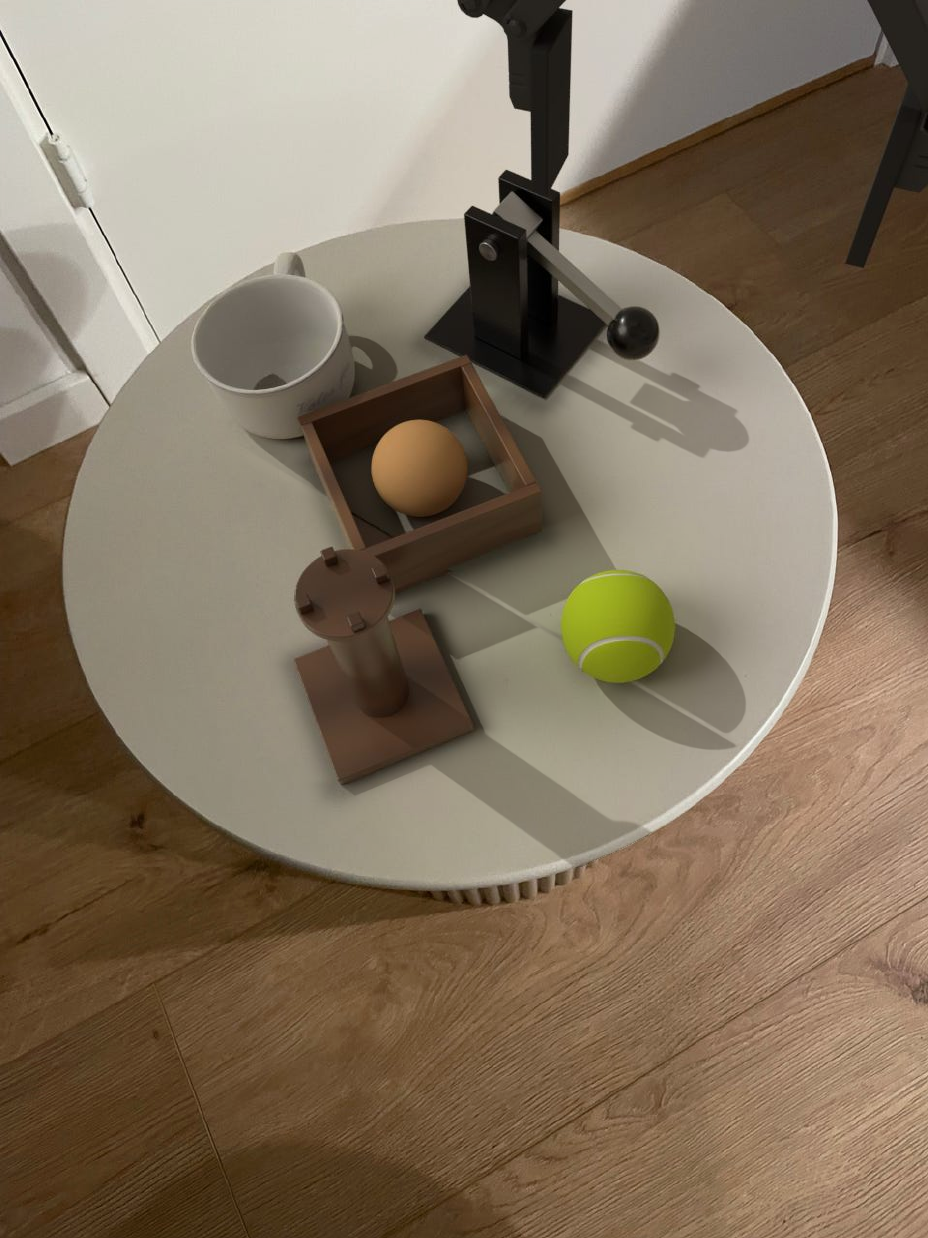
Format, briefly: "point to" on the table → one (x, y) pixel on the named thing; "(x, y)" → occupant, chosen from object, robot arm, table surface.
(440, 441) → the cork ball
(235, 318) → the teacup
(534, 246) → the lever
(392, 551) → the bin
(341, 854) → the table surface
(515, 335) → the bracket
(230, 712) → the table surface
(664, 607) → the tennis ball
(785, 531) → the table surface
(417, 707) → the stand
